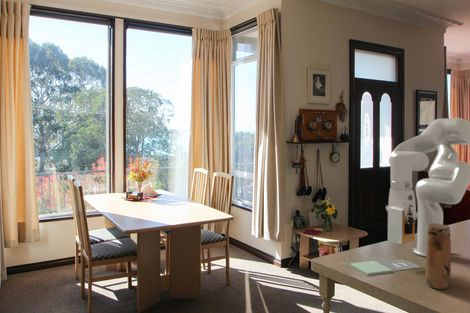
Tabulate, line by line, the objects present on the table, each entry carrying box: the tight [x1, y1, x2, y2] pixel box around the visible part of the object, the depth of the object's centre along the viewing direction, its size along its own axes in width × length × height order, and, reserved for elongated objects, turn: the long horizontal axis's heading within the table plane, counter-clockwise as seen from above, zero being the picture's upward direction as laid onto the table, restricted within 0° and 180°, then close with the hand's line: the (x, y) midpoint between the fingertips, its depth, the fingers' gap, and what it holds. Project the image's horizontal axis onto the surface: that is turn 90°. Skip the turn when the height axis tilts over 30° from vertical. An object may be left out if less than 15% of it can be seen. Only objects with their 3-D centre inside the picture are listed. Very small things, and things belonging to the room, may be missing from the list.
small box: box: [387, 207, 415, 245], centre depth 149 cm, size 8×6×13 cm
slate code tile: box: [378, 258, 423, 272], centre depth 150 cm, size 12×10×1 cm
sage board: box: [349, 260, 394, 276], centre depth 146 cm, size 11×11×1 cm
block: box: [424, 223, 452, 290], centre depth 130 cm, size 11×8×20 cm
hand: (401, 230), depth 150 cm, fingers closed on small box, 7 cm apart
